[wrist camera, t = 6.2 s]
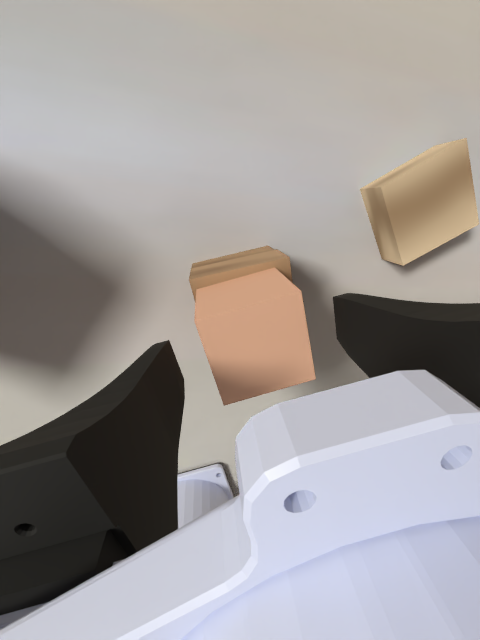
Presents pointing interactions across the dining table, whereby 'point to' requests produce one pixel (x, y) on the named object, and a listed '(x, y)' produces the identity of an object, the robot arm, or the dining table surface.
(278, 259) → the tower top
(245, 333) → the terracotta cube
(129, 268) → the dining table surface
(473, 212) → the slab
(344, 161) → the dining table surface
